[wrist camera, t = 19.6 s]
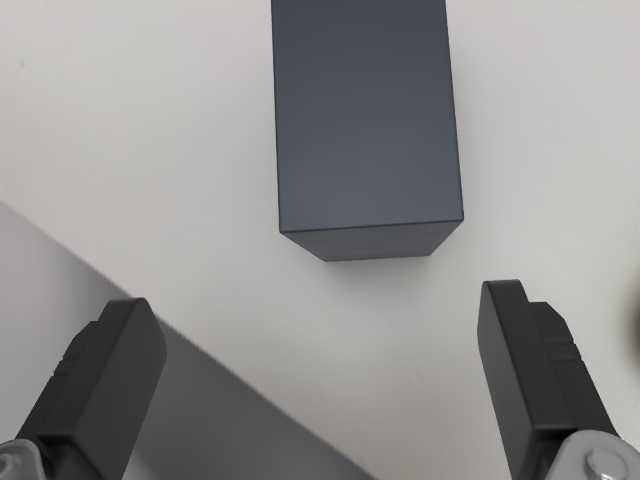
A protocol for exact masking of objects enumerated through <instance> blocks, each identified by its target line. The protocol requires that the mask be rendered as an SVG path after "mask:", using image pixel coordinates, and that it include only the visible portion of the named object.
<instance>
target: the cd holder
mask: <svg viewBox="0 0 640 480" xmlns="http://www.w3.org/2000/svg"><path fill="white" fill-rule="evenodd" d="M271 15H272V43H273V70H274V98H275V125H276V153H277V181H278V208H279V231H280V233H281V234H283V235H284V236H286V237H287V238H289V239H290V240H292V241H294V242H295V243H297V244H298V245H300V246H301V247H303V248H304V249H306V250H307V251H309V252H310V253H312V254H314V255H315V256H317V257H318V258H320V259H321V260H323V261H325V262H329V261H346V260H363V259H380V258H397V257H415V256H429V255H431V254H432V253H433V251H434V250H435V249H436V248H437V247H438V246H439V245H440V244H441V243H442V242H443V241H444V240H445V239H446V238H447V237H448V236H449V235H450V234H451V233H452V232H453V231H454V230H455V229H456V228H457V227H458V226H459V225H460V224H461V223H462V222H463V221H464V211H463V199H462V188H461V176H460V164H459V153H458V141H457V130H456V118H455V107H454V95H453V84H452V72H451V60H450V49H449V37H448V26H447V14H446V3H445V0H271Z"/></svg>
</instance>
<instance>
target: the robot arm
mask: <svg viewBox="0 0 640 480" xmlns="http://www.w3.org/2000/svg"><path fill="white" fill-rule="evenodd" d="M477 335H478V345H479V351H480V356H481V360H482V363H483V367H484V371H485V375H486V379H487V383H488V387H489V391H490V395H491V399H492V403H493V406H494V410H495V414H496V418H497V422H498V426H499V430H500V434H501V438H502V442H503V446H504V450H505V453H506V457H507V461H508V465H509V469H510V473H511V477H512V480H640V453H639V452H638V451H637V450H636V449H634V448H633V447H632V446H631V445H630V444H628V443H627V442H625V441H624V440H622V439H621V437H620V436H619V435H618V433H617V432H616V430H615V428H614V427H613V425H612V423H611V421H610V418H609V416H608V414H607V412H606V410H605V407H604V405H603V403H602V401H601V399H600V396H599V394H598V392H597V390H596V388H595V386H594V383H593V381H592V379H591V377H590V375H589V372H588V370H587V368H586V366H585V364H584V361H582V360H581V355H580V353H579V350H578V348H577V346H576V344H574V342H573V337H572V335H571V333H570V331H569V329H568V326H567V324H566V322H565V320H564V318H562V317H561V316H560V315H559V314H558V313H557V312H556V311H555V310H554V309H553V308H552V307H551V306H550V305H549V304H548V303H547V302H529V301H528V299H527V296H526V293H525V291H524V288H523V286H522V284H521V282H520V281H519V280H518V279H516V280H496V281H484V282H483V284H482V291H481V300H480V308H479V317H478V327H477ZM166 355H167V345H166V340H165V337H164V335H163V333H162V331H161V328H160V327H159V324H158V322H157V320H156V318H155V316H154V314H153V312H152V309H151V307H150V305H149V303H148V301H147V300H146V299H145V298H123V299H112V300H110V301H109V302H108V303H107V305H106V307H105V308H104V310H103V312H102V314H101V316H100V317H99V319H98V321H91V322H90V323H89V324H88V325H87V326H86V327H85V328H84V329H83V330H82V331H81V332H79V333H78V334H77V335H76V336H75V337H74V339H73V340H72V342H71V343H70V345H69V347H68V349H67V350H66V352H65V354H64V355H63V360H62V361H60V362H59V364H58V366H57V368H56V369H55V371H54V376H51V378H50V379H49V381H48V383H47V385H46V386H45V388H44V390H43V392H42V393H41V395H40V397H39V398H38V400H37V402H36V403H35V405H34V407H33V409H32V410H31V412H30V414H29V416H28V417H27V419H26V421H25V423H24V424H23V426H22V428H21V429H20V431H19V433H18V434H17V436H16V437H15V439H14V440H10V441H7V442H4V443H2V444H0V480H121V479H122V477H123V474H124V472H125V469H126V466H127V464H128V461H129V458H130V455H131V453H132V450H133V447H134V445H135V442H136V440H137V437H138V434H139V431H140V429H141V426H142V423H143V421H144V418H145V415H146V413H147V410H148V407H149V404H150V402H151V399H152V397H153V394H154V391H155V388H156V386H157V383H158V380H159V378H160V375H161V372H162V370H163V367H164V364H165V361H166Z"/></svg>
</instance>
